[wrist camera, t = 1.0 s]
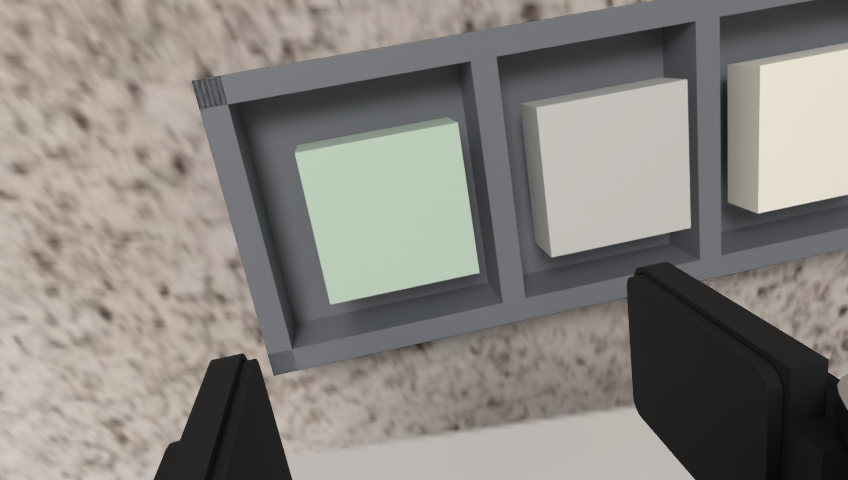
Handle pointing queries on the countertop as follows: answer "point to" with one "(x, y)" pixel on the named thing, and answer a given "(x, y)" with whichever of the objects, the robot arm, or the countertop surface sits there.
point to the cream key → (788, 129)
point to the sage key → (389, 208)
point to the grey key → (608, 164)
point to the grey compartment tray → (500, 165)
